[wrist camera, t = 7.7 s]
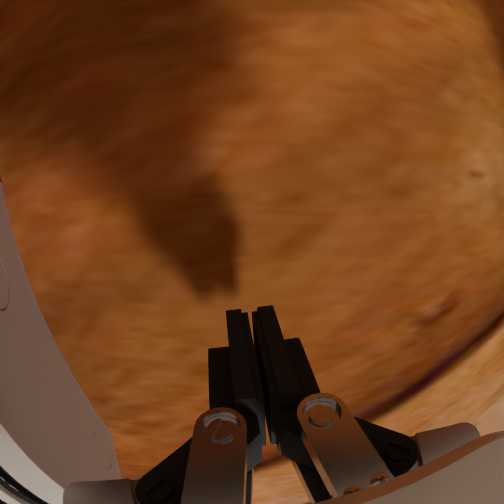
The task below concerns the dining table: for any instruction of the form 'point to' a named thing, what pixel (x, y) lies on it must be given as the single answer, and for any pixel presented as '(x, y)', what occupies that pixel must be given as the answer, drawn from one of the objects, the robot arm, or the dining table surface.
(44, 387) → the hinge
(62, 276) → the dining table surface
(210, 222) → the dining table surface
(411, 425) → the dining table surface
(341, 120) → the dining table surface
